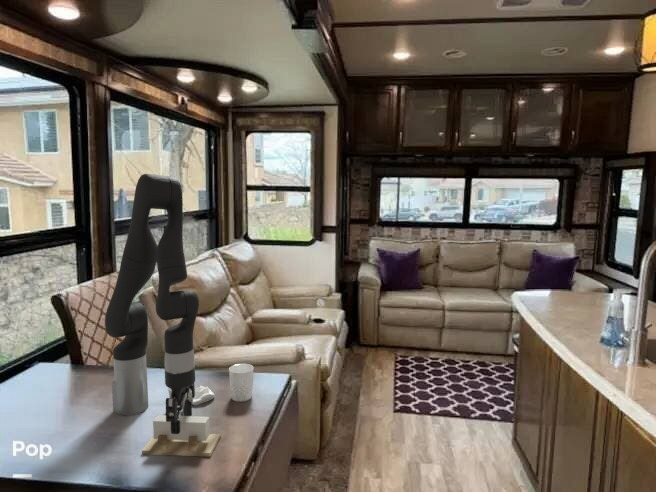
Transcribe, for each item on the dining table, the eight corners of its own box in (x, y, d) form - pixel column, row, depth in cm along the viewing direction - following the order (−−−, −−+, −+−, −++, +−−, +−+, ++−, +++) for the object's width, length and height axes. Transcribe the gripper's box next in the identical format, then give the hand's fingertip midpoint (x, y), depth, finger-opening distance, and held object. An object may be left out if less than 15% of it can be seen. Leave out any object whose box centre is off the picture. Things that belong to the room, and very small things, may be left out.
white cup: (231, 392, 153) (230, 363, 152) (254, 391, 153) (254, 363, 152) (228, 403, 145) (227, 373, 144) (252, 402, 146) (252, 372, 144)
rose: (210, 393, 142) (179, 393, 142) (210, 407, 143) (179, 406, 143) (217, 380, 152) (189, 380, 152) (218, 393, 153) (189, 392, 153)
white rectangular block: (153, 438, 119) (152, 421, 119) (158, 432, 123) (158, 415, 122) (206, 440, 119) (205, 422, 118) (209, 434, 122) (209, 416, 121)
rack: (142, 454, 117) (141, 437, 116) (156, 435, 126) (156, 419, 125) (210, 456, 116) (210, 440, 115) (220, 437, 125) (220, 422, 124)
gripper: (176, 355, 125) (178, 411, 127) (154, 377, 111) (156, 438, 113) (202, 356, 125) (204, 412, 127) (184, 377, 111) (186, 439, 113)
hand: (181, 424), depth 120 cm, fingers open, 8 cm apart
